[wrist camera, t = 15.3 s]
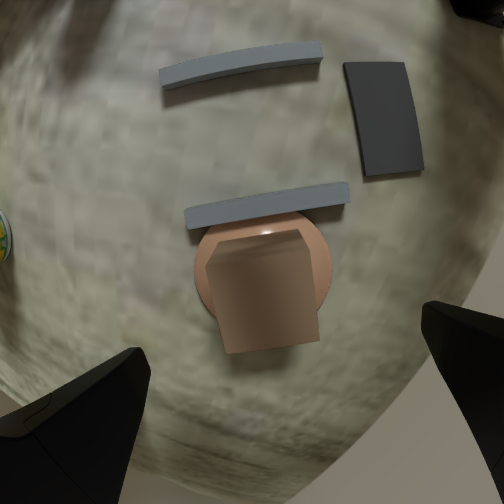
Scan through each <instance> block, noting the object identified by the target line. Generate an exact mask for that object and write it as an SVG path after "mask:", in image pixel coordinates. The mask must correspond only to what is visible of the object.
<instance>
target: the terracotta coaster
mask: <svg viewBox="0 0 504 504" xmlns="http://www.w3.org/2000/svg"><path fill="white" fill-rule="evenodd" d="M293 229H299V231H300V233H301V235H302V237H303V238H304V240H305V242H306V244H307V246H308V248H309V249H310V255H311V263H312V271H313V279H314V288H315V297H316V306H317V310H318V309H319V307H320V306H321V305H322V303H323V301H324V299H325V298H326V296H327V293H328V291H329V288H330V284H331V280H332V259H331V254H330V251H329V248H328V245H327V243H326V241H325V239H324V237H323V236H322V234H321V233H320V231H319V230H318V229H317V228H316V227H315V226H314V224H313V223H312V222H311V221H310V220H308V219H307V218H306V217H305V216H303V215H302V214H300V213H299V212H297V211H292V212H286V213H279V214H273V215H267V216H262V217H256V218H250V219H244V220H238V221H233V222H227V223H221V224H216V225H212V226H211V227H210V229H209V230H208V231H207V232H206V234H205V235H204V237H203V239H202V240H201V242H200V244H199V247H198V250H197V253H196V257H195V264H194V277H195V282H196V286H197V289H198V292H199V295H200V297H201V299H202V301H203V302H204V304H205V305H206V307H207V308H208V309H209V310H210V312H211V313H212V314H213V315H214V316H215V317H216V318H217V316H216V312H215V308H214V304H213V300H212V296H211V291H210V287H209V283H208V279H207V275H206V270H205V266H206V264H207V262H208V260H209V258H210V257H211V255H212V253H213V251H214V249H215V248H216V246H217V244H218V242H220V241H226V240H232V239H238V238H244V237H250V236H256V235H262V234H268V233H274V232H280V231H286V230H293Z"/></svg>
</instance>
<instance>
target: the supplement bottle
mask: <svg viewBox="0 0 504 504" xmlns="http://www.w3.org/2000/svg"><path fill="white" fill-rule="evenodd" d="M10 248H11V232H10V227H9V223H8V221H7V219H6V217H5V215H4V214H3V212H2V211H1V210H0V263H1V262H3V261H4V260H5V259H6V258H7V256H8V254H9V252H10Z"/></svg>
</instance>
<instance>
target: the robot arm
mask: <svg viewBox="0 0 504 504" xmlns="http://www.w3.org/2000/svg"><path fill="white" fill-rule="evenodd" d="M450 1H451V4H452V6H453V8H454V11H455V13H456V14H457V15H459V16H460V17H464V18H468V19H472V20H476V21H480V22H483V23H487V24H490V25H493V26H497V27H500V28H503V29H504V15H503V12H504V0H450ZM460 11H461V12H460ZM421 331H422V334H423V336H424V338H425V341H426V343H427V345H428V347H429V350H430V352H431V354H432V356H433V359H434V361H435V363H436V365H437V368H438V370H439V371H440V373H441V375H442V377H443V379H444V380H445V382H446V384H447V386H448V387H449V389H450V391H451V393H452V395H453V397H454V398H455V400H456V402H457V404H458V406H459V408H460V410H461V412H462V413H463V416H464V417H465V419H466V421H467V423H468V425H469V427H470V429H471V431H472V433H473V436H474V438H475V440H476V442H477V444H478V446H479V448H480V450H481V452H482V455H483V457H484V459H485V461H486V463H487V466H488V468H489V470H490V472H491V475H492V478H493V480H494V482H495V484H496V488H497V490H498V492H499V495H500V498H501V500H502V503H503V504H504V319H503V318H500V317H496V316H492V315H488V314H484V313H480V312H477V311H473V310H469V309H465V308H462V307H458V306H454V305H450V304H447V303H443V302H439V301H430V302H426V303H424V305H423V307H422V319H421ZM150 376H151V369H150V366H149V364H148V361H147V359H146V356H145V354H144V352H143V350H142V349H141V348H140V347H131V348H128V349H126V350H124V351H123V352H121V353H119V354H117V355H116V356H114V357H112V358H111V359H109V360H107V361H105V362H104V363H102V364H100V365H98V366H97V367H95V368H93V369H91V370H90V371H88V372H86V373H84V374H83V375H81V376H79V377H77V378H76V379H74V380H72V381H70V382H69V383H67V384H65V385H63V386H61V387H60V388H58V389H56V390H54V391H53V392H52V393H49V394H47V395H45V396H43V397H42V398H40V399H38V400H36V401H34V402H32V403H30V404H28V405H26V406H24V407H22V408H20V409H18V410H16V411H14V412H11V413H9V414H7V415H5V416H3V417H1V418H0V504H118V501H119V497H120V493H121V490H122V486H123V482H124V478H125V474H126V471H127V467H128V463H129V460H130V456H131V453H132V449H133V446H134V442H135V439H136V435H137V432H138V429H139V425H140V422H141V419H142V415H143V411H144V407H145V402H146V397H147V391H148V386H149V381H150Z"/></svg>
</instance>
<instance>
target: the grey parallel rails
mask: <svg viewBox="0 0 504 504" xmlns="http://www.w3.org/2000/svg"><path fill="white" fill-rule="evenodd" d="M323 57H324V56H323V52H322V48H321V44H320V41H319V40H318V41H304V42H293V43H284V44H275V45H268V46H261V47H254V48H248V49H242V50H236V51H231V52H226V53H221V54H216V55H212V56H207V57H203V58H199V59H195V60H191V61H187V62H183V63H179V64H176V65H172V66H169V67H165V68H162V69H159V76H160V83H161V86H162V87H163V88H164V89H166V90H169V89H173V88H176V87H180V86H184V85H188V84H192V83H196V82H200V81H204V80H209V79H213V78H218V77H223V76H227V75H233V74H238V73H243V72H249V71H255V70H261V69H268V68H275V67H283V66H291V65H301V64H311V63H320V62H321V61H322V59H323ZM350 202H351V201H350V193H349V186H348V183H347V182H337V183H330V184H323V185H316V186H310V187H303V188H296V189H290V190H284V191H278V192H272V193H266V194H260V195H254V196H248V197H243V198H237V199H232V200H226V201H221V202H216V203H210V204H205V205H200V206H195V207H190V208H187V209H186V210H184V214H185V219H186V223H187V228H188V230H189V229H194V228H200V227H205V226H210V225H216V224H221V223H227V222H233V221H238V220H244V219H250V218H256V217H262V216H267V215H273V214H279V213H286V212H292V211H298V210H304V209H311V208H317V207H324V206H330V205H337V204H344V203H350Z"/></svg>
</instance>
